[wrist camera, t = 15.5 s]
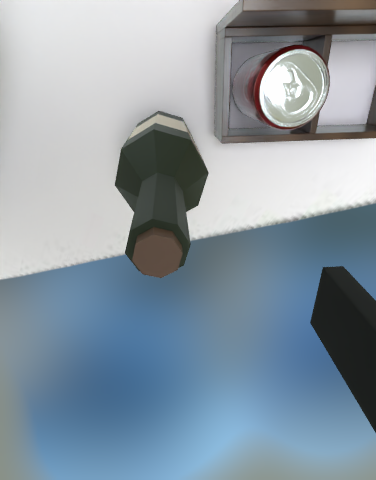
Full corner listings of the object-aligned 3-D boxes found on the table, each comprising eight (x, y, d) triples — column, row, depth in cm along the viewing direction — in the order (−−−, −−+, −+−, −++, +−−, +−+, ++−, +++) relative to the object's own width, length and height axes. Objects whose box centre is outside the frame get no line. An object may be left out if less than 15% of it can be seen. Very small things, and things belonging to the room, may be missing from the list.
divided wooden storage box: (214, 135, 41) (234, 159, 29) (216, 24, 35) (243, -5, 23) (370, 130, 42) (454, 150, 30) (397, 21, 36) (516, -9, 24)
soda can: (294, 99, 40) (341, 106, 29) (244, 128, 41) (272, 144, 30) (275, 41, 36) (320, 26, 26) (221, 74, 38) (243, 72, 27)
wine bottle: (169, 184, 44) (173, 342, 18) (121, 149, 41) (38, 272, 15) (206, 138, 41) (276, 241, 15) (156, 96, 38) (132, 131, 12)
